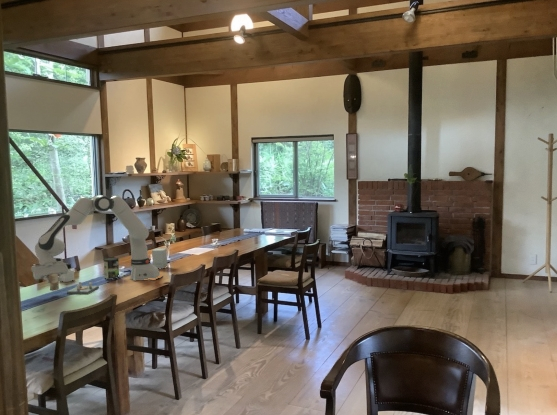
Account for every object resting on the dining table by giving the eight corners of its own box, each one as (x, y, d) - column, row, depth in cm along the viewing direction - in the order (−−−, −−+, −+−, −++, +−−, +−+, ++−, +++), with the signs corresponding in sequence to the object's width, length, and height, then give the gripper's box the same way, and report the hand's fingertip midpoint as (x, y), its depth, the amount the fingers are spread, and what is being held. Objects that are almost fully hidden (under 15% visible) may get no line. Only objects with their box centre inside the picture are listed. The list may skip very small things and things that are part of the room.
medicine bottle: (74, 280, 332) (73, 263, 331) (65, 282, 326) (64, 265, 325) (68, 278, 336) (67, 262, 334) (59, 281, 330) (58, 264, 328)
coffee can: (122, 276, 340) (121, 257, 339) (114, 279, 330) (113, 260, 329) (109, 275, 342) (108, 257, 341) (101, 279, 332) (100, 259, 331)
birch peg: (60, 288, 296) (59, 272, 295) (55, 290, 291) (54, 274, 290) (53, 288, 296) (52, 272, 295) (48, 290, 291) (47, 274, 290)
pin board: (98, 288, 309) (98, 280, 309) (87, 294, 295) (87, 286, 295) (78, 287, 311) (78, 280, 310) (67, 293, 297) (66, 285, 296)
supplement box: (167, 266, 369) (167, 248, 368) (163, 269, 360) (163, 250, 359) (156, 266, 370) (155, 248, 369) (152, 269, 361) (151, 250, 360)
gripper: (30, 263, 289) (37, 281, 283) (64, 258, 304) (71, 275, 298) (29, 269, 293) (35, 287, 287) (62, 263, 307) (69, 280, 301)
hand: (54, 281), depth 292 cm, fingers closed on birch peg, 5 cm apart
